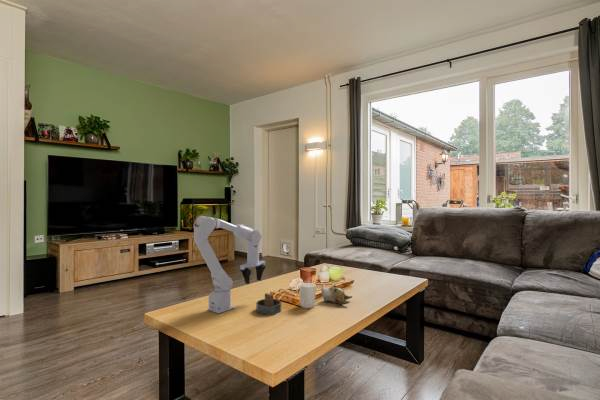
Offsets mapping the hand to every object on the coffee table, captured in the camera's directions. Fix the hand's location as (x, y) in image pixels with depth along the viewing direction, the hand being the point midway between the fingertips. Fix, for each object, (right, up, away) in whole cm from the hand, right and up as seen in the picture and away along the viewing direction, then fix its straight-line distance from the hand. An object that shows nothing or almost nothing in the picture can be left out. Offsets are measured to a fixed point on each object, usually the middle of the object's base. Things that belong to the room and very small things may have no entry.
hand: (253, 281), depth 162 cm
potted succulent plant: (+41, -10, 0) cm, 42 cm away
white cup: (+27, -10, -5) cm, 29 cm away
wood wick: (+9, -10, -11) cm, 17 cm away
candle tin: (+9, -10, -11) cm, 18 cm away
